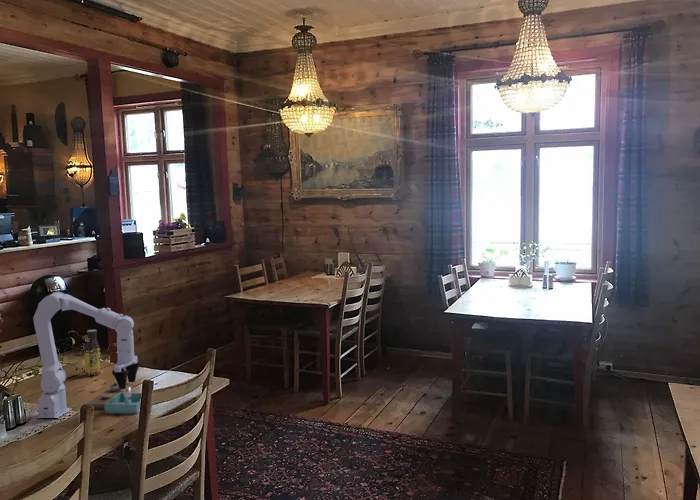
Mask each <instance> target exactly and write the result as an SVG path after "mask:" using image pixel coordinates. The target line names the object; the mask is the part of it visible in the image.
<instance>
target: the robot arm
mask: <svg viewBox="0 0 700 500" xmlns="http://www.w3.org/2000/svg"><path fill="white" fill-rule="evenodd" d="M37 305H38V306H37V308H36V310H35V313H34V316H32V317H33V318H32V319H33V320H32V321H33V325H34V331H35V334H36V339H37V344H38V348H39V355H40V360H41V364H42V368H41V381H40V388H41V390H42V393H41V396H40V397H39V398H38V400H37V413H38V416H36V418H58V419H60V418H61V417H63V416H64V415H65V413H66V414H67V413H68V412H71V410H73V408H71V407H67V395H66V385H65V383H64V382H65V381H66V379H67V373H66V372H65V370H64V369H63V366H62V364H61V362H60V361H59V357H58V353H57V352H58V351H57V347H56V344H55V338H54V332H53V327H52V322H51V319H52V318H53V317H54V315H56V314H57V312H58V311H60V310H61V311H62V312H65V311H70V310H73V311H76V312H79V313H81V314H84V315H87V316H90V317H92V318H94V320H95V322H96V323H97V324H100V325H101V326H104V327H106V328H110V329H112V330H115V332H116V345H117V348H116V349H117V362H116V364H115V366H114V367H113V368H114V369H113V370H112V371H111V375H113V377H114V378H115V380H116V383H117V384H118V386H119V389H125V388H126V387H127V381H128V383H135V382H136V378H137V373H138V370H139V367H140V365H141V362H140V361H139V360H138V359H139V358H138V355H135V344H134V342H135V341H134V338H135V337H134V331H133V330H134V329H133V328H134V326H135V321H134V319H133V318H132V317H131V316H130V315H124V314H122V313H117V312H115V311H113V310H111V308H109V307H107V308H106V307H102V308H97V307H95V306H93V305H91V304H88V303H87V302H84V301H83V300H80V299H78V298H76V297H74V296H72V295H70V294H68V293H64V292H61V291H54V292H52V293H51V294H49V295H46V296H45V297H44V298H43V299H42V300H40V302H38V304H37ZM63 414H64V415H63ZM62 415H63V416H62ZM58 416H59V417H60V416H61V417H60V418H59V417H58ZM36 418H35V419H36Z"/></svg>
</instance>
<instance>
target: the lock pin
mask: <svg viewBox="0 0 700 500" xmlns="http://www.w3.org/2000/svg"><path fill="white" fill-rule="evenodd" d="M131 393H132V387H131V386H126V388H125V389H124V400H125V404H132V401H131Z"/></svg>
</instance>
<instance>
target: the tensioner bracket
mask: <svg viewBox="0 0 700 500" xmlns="http://www.w3.org/2000/svg"><path fill="white" fill-rule="evenodd" d="M119 393H124V389H119V386H118V383H117V382H113V384H110V386H109V387H108V388H107V389H105V390H104V391H102V392H101V393H100V394H98V395H96V396H95V397H94V398H93V399H90V400H89V401H88V402H87V403H86V405H87V404H88V405H92V406H94V409H93V410H105V405H104V404H105V403H107V402H108V401H109V400H111V399H112V398H113V397H115V396H116V395H117V394H119Z"/></svg>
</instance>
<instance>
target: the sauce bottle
mask: <svg viewBox="0 0 700 500" xmlns="http://www.w3.org/2000/svg"><path fill="white" fill-rule="evenodd" d="M86 334H87V336H88V338H90V341H89V342H87V341H86V342H85V344H84V375H85V376H87V377H91V376H90V375H91V373H93V374H94V376H97V375H98V376H99V375H100V374H101V348H100V344H99V342H98V338H97V334H98V331H97V329H88V330H87V331H86ZM85 349H86V350H87V351H92V350H97V351H96V352H94V353H87V352H86V351H85ZM94 376H93V377H94Z"/></svg>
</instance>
